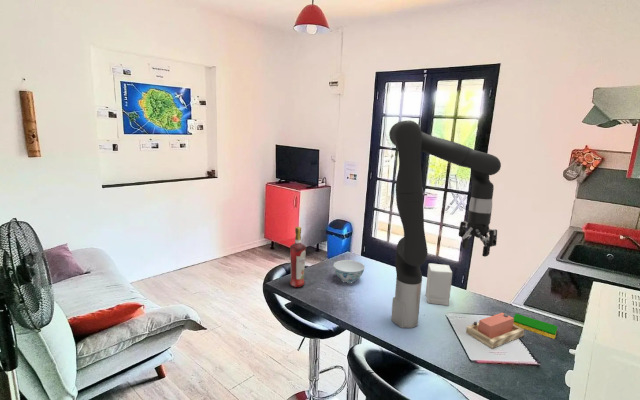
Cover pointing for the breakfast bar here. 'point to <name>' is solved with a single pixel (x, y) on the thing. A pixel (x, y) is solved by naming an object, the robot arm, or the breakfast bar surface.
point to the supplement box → (438, 284)
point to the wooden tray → (495, 341)
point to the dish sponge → (535, 325)
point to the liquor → (297, 260)
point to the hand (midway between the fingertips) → (475, 252)
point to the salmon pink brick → (496, 325)
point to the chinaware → (348, 270)
